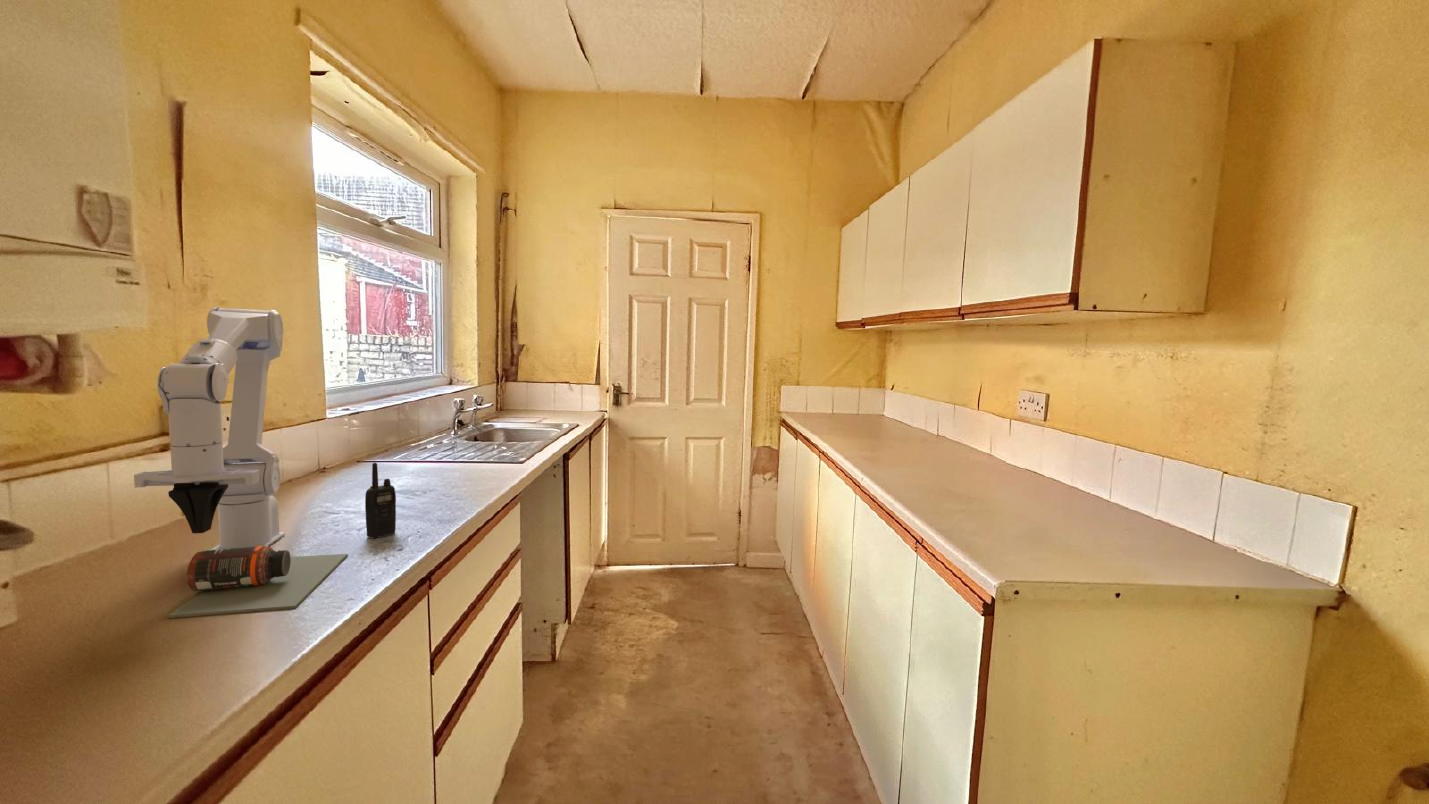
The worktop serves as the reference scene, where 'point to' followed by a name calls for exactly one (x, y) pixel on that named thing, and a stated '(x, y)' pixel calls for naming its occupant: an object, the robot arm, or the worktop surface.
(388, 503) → the two-way radio
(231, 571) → the supplement bottle
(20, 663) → the worktop surface
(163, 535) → the worktop surface
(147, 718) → the worktop surface
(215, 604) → the mat
